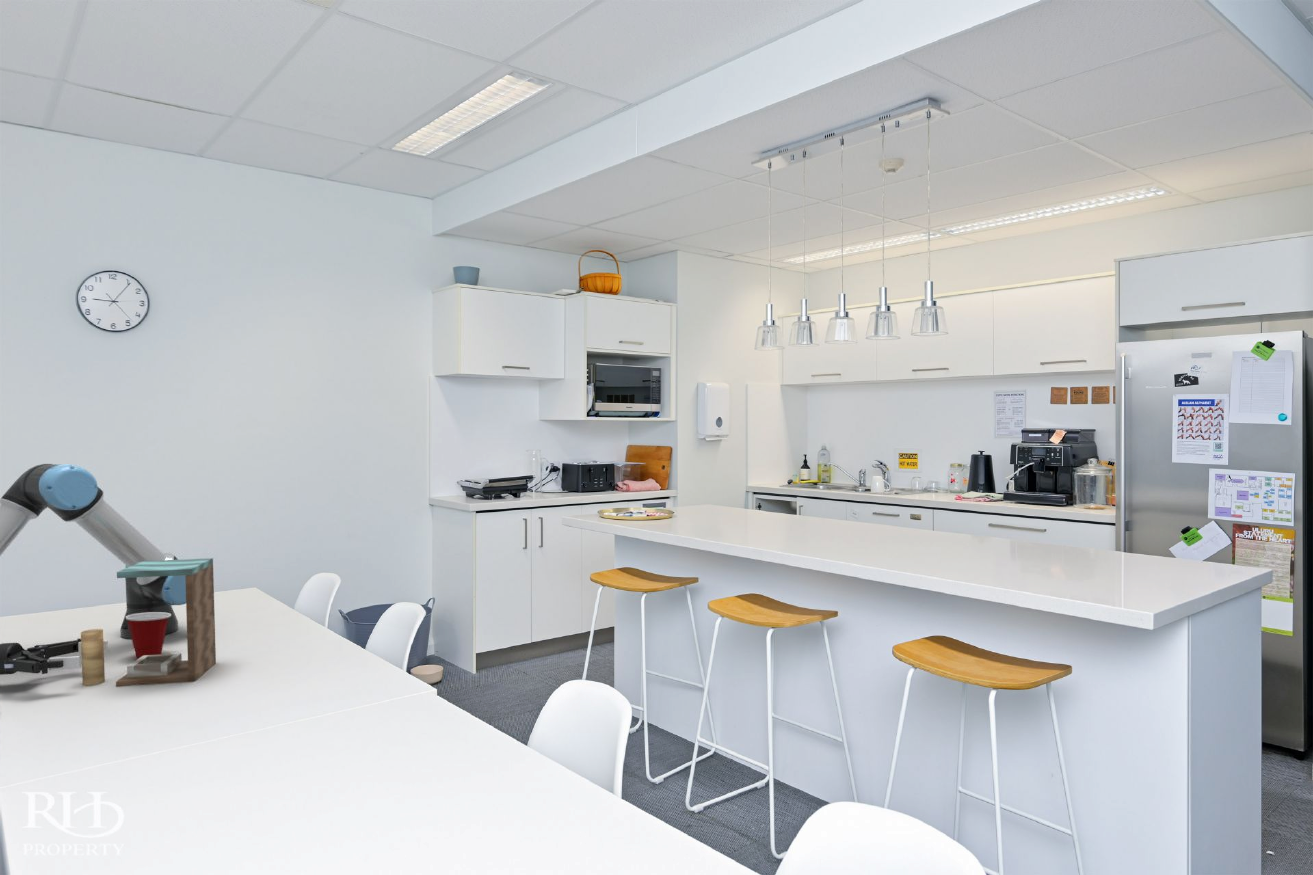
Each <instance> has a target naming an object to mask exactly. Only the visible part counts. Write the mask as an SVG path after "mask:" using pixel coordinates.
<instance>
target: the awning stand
mask: <svg viewBox="0 0 1313 875" xmlns="http://www.w3.org/2000/svg"><path fill="white" fill-rule="evenodd" d="M180 575H185V580H186V604H185V608H186V609H185V611H186V639H187V643H186V646H187V660H183V658H182V653H179V652H178V653H164V654H162V653H161V655H144V656H142V657H140V658H139V659H137V658H136V660H134V661H133V662H131V663H130V664H128V665H127V666H126V669H127V670H126V671H127V672H126V674H125V675H123V676H122V677H121V678H119V679H117V680H116V681H115V687H127V686H128V687H131V686H143V685H160V684H176V683H177V684H178V683H186V682H188V683H191V682H196V681H197V680H198V679H199V678H201V677H202V676H203V675H204V674H205V673H206V672H207V671H209V670H210V669H211V668H212V667H213V666H214V665H215V664H217V660H216V659H217V658H216V657H217V656H216V655H217V654H216V653H217V652H216V650H217V648H216V624H215V623H216V620H215V619H216V618H215V591H214V590H215V589H214V588H215V586H214V584H215V583H214V582H215V580H214V578H215V577H214V558H212V557H210V558H187V559H186V558H185V559H184V558H182V559H178V560H156V561H142V562H140V563H137V564H135V565H133V566H130V567H128V568H126V567H124V568H123V569H121V570H119V571H117V572H116V578H117V579H125V578H133V577H156V576H180Z"/></svg>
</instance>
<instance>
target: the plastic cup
mask: <svg viewBox="0 0 1313 875" xmlns="http://www.w3.org/2000/svg"><path fill="white" fill-rule="evenodd" d="M170 616H171V614H170V613H164V612H147V613H137V614H131V615H128V616H126V620H127V621H128V625H129V629H130V632H131V637H132V639H131V642H132V645H133V646H132V647H133V649H134V653H135V657H136V660H137V659H139V658H140V657H142V656H144V655H161V654H162V653H163V645H164V641H165V637H166V634H165V632H166V626H167V623H168V620H169V618H170Z"/></svg>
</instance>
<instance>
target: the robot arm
mask: <svg viewBox="0 0 1313 875" xmlns="http://www.w3.org/2000/svg"><path fill="white" fill-rule="evenodd" d="M104 495H105V492H104V490H102V489H101V488H100V487H99V485H98V481H97V479H96V477H95V476H94V475H93V474H92V473H91V472H90V471H88V469H85V468H83V467H81V466H77V465H75V464H69V463H67V464H53V463H42V464H38V465H34V466H33V467H31V468H29V469H27V470H26V471H24V472H23V473H22V474H21V475H20V476H18V478H17V479H16V480H15V481H14V482H13V483H12V485H10V486H9V488H8V489H7V490H6V492H5V493H4V494H3V495H2V497H1V498H0V557H1V556H2V555H3V554H4V552H5V551H6V550H7V548H8V547H9V546H10V545H11V544H12V542H13V541H14V540H15V539H16V538H17V537H18V535H19V534H20V532H22V530H23V529H24V528H25V527H26V526H27V524H28V523H29V522H30V521H31V520H34V519H38V517H40V515H41V514H42V512H44V511H45V509H48V510H49V509H50V511H52V512H53V513H54V514H56V516H58V517H59V518H60V519H62V521H64V522H66V523H68V522H69V523H71V522H74V523H76V524H77V525H78V526H79V527H81V528H82V529H83V530H84V531H85V532H87V533H88V534H89V535H90V536H91V537H92V538H93V539H95V540H96V542H98V543H99V544H100V545H102V546H103V547H104V548H105V549H106V550H107V551H109V552H110V553H111V554H112V555H113V556H114V557H116V558H117V559H118V560H120V562H121V563H123V564H124V565H125V568H128V567H130V566H133V565H135V564H137V563H140V562H142V561H156V560H179V559H178V557H176V556H175V555H174V554H173V553H171V552H162V551H161V550H160V549H159V548H158V547H157V546H156V545H154V544H153V543H152V542H151V541H150V540H149V539H147V537H145V536H144V535H143V534H142V533H141V532H140V531H139V530H138V529H136V527H135V526H133V525H132V524H131V523H130V522H128V520H126V519H125V517H123V516H122V515H121V514H120V513H119V512H117V510H115V509H114V508H113V507H112V506H111V505H110V504H109V503H107V502H106V500H104ZM124 580H125V598H126V603H125V604H126V611H125V613H124V616H123V620H122V622H121V626H120V629H119V630H120V637H121V638H124V639H131V640H132V637H131V632H130V629H129V625H128V621H127V620H126V616H128V615H131V614H137V613H147V612H164V613H170V614H171V616H170V618H169V620H168V623H167V626H166V632H165V635H168V634H171V633H174V632H176V631H178V629H179V620H178V618H177V616H176V613H175V611H174V608H173V606H183V605H186V580H185V575H180V576H156V577H133V578H124ZM108 641H109V640H103V642H104V653H106V652H109V646H108V645H109V643H108ZM74 653H78V654H81V638H77V639H75V640H74V639H73V640H67V641H62V642H61V641H60V642H54V643H48V644H36V645H34V646H33V647H29V648H27V649H25V648H24V647H23V646H22V645H21V644H20V643H19V642H4V643H0V675H1V676H3V675H14V674H17V672H19V673H29V674H37V675H38V674H39V673H41V675H45V674H48V673H49V671H48V670H51V671H53V670H55V671H56V670H68V669H80V668H82V664H81V656H79V655H76V656H74V655H73V656H65V655H69V654H74ZM61 656H62V657H61Z"/></svg>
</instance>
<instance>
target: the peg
mask: <svg viewBox="0 0 1313 875" xmlns="http://www.w3.org/2000/svg"><path fill="white" fill-rule="evenodd" d="M80 639H81V653H80V654H81V674H82V675H81V676H82V677H81V678H82V680H81V681H82V685H83V686H85V687H87V686H89V687H90V686H95V685H99V684H102V683H105V682H106V681H105V680H106V676H105V675H106V673H105V652H104V642H103V641H104V629H103V628H93V629H87V630H83V631H81V632H80Z"/></svg>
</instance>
